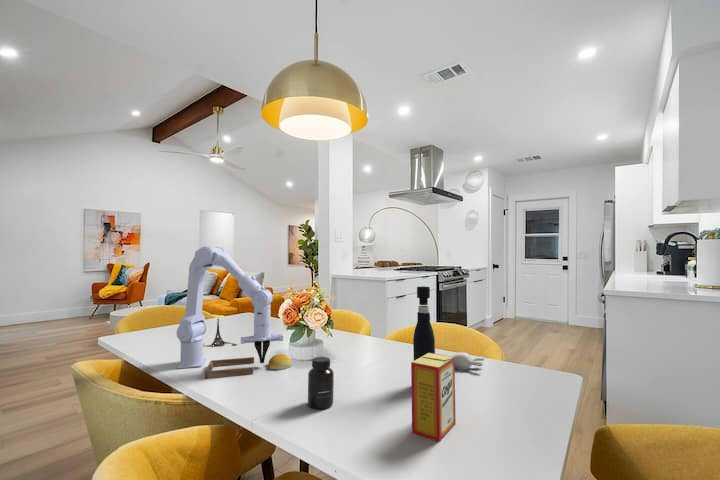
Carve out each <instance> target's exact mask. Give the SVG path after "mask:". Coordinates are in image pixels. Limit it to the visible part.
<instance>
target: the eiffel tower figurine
mask: <svg viewBox="0 0 720 480" xmlns="http://www.w3.org/2000/svg"><path fill="white" fill-rule="evenodd" d="M219 319H220V318H217V319H216V320H217V322H216V333H215V338H214V339H213V342H212V343H211V345H210V348H215V347H216V348H218V347H224V346H225V345H227V344H228V345H231V347H236V346H238V344H237V343H232V342H229V341H225V340H224V339H223V337H221V332H220V323H219V322H220V320H219ZM215 343H216V344H215ZM213 345H214V346H213Z"/></svg>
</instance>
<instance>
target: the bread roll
mask: <svg viewBox="0 0 720 480" xmlns="http://www.w3.org/2000/svg"><path fill="white" fill-rule="evenodd" d="M292 366H293V360H292V359H291V357H290V356H288V355H287V354H284V353H283V354H282V353H278V354H275V355H273V356H272V357H271V358H270V359H269V361H268V367H269V369H271V370H277V371H282V370H287V369H289V368H291V367H292Z"/></svg>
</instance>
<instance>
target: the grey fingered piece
mask: <svg viewBox="0 0 720 480" xmlns="http://www.w3.org/2000/svg"><path fill="white" fill-rule="evenodd" d="M444 355H446V356H451V357H454V363H455V369H456V370H458V371H459V370H460V371H467V370H468V369H469V368H470V367H472V366H476V367H482V366H483V365H484V364H483V362H484V361H485V359H484V358H485V357H483V356H475V357H471V356H470V355H469V353H467V352H460V351H459V352H456V353H453V354H450V353H446V354H444Z"/></svg>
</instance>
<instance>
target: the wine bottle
mask: <svg viewBox="0 0 720 480" xmlns="http://www.w3.org/2000/svg"><path fill="white" fill-rule="evenodd" d="M430 293H431V289H430V286H424V285H423V286H417V287H416V298H418V299H419V300H418V301H419V302H418V308H417V309H418V311H417V317H416V319H417V322H416V325H415V329H414V333H413V339H412V341H413V342H412V343H413V345H412V346H413V361H415V360H417V359H418V358H420V357H422V356H424V355H426V354H427V353H434V354H436V339H435V334H434V329H433V327H432V323H431V313H430V310H429V309H430V308H429V306H428V305H429V304H428V303H429V302H428V301H429V300H428V299H430V297H431V295H430Z"/></svg>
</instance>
